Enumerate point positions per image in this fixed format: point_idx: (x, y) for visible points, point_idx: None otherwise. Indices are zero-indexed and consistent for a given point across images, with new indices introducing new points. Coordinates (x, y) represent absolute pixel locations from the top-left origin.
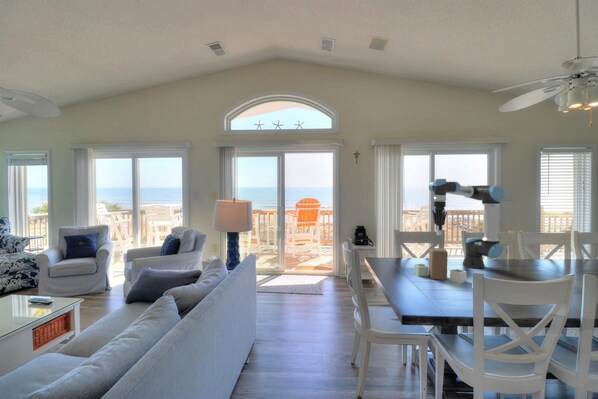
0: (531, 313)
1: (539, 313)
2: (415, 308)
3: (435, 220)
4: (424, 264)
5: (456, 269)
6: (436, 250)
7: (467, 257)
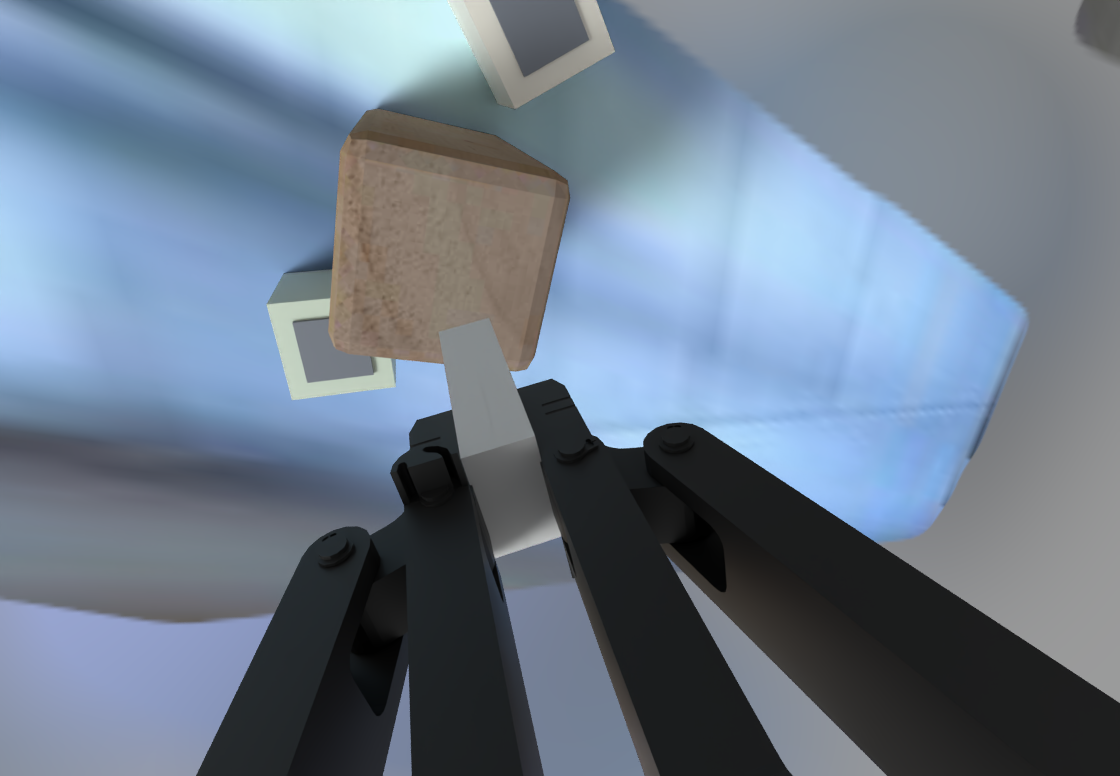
0: None
1: None
2: (896, 492)
3: (384, 722)
4: (287, 303)
5: (499, 17)
6: (513, 321)
7: None
